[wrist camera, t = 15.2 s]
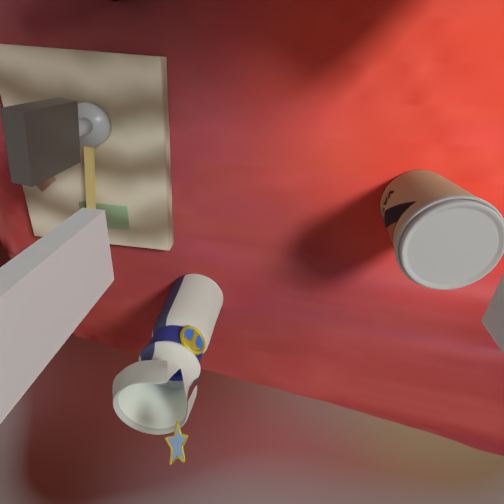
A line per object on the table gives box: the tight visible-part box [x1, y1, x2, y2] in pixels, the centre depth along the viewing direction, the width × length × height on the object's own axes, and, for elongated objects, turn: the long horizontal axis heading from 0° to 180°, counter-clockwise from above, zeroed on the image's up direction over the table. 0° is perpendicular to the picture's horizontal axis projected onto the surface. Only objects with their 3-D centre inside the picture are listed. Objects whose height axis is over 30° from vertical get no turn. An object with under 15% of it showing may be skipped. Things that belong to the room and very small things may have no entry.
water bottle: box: [113, 274, 223, 465], centre depth 42 cm, size 8×9×25 cm
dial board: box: [0, 44, 174, 250], centre depth 43 cm, size 22×18×2 cm
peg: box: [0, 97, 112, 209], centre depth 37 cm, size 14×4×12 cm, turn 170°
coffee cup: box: [380, 170, 504, 290], centre depth 38 cm, size 9×9×12 cm
